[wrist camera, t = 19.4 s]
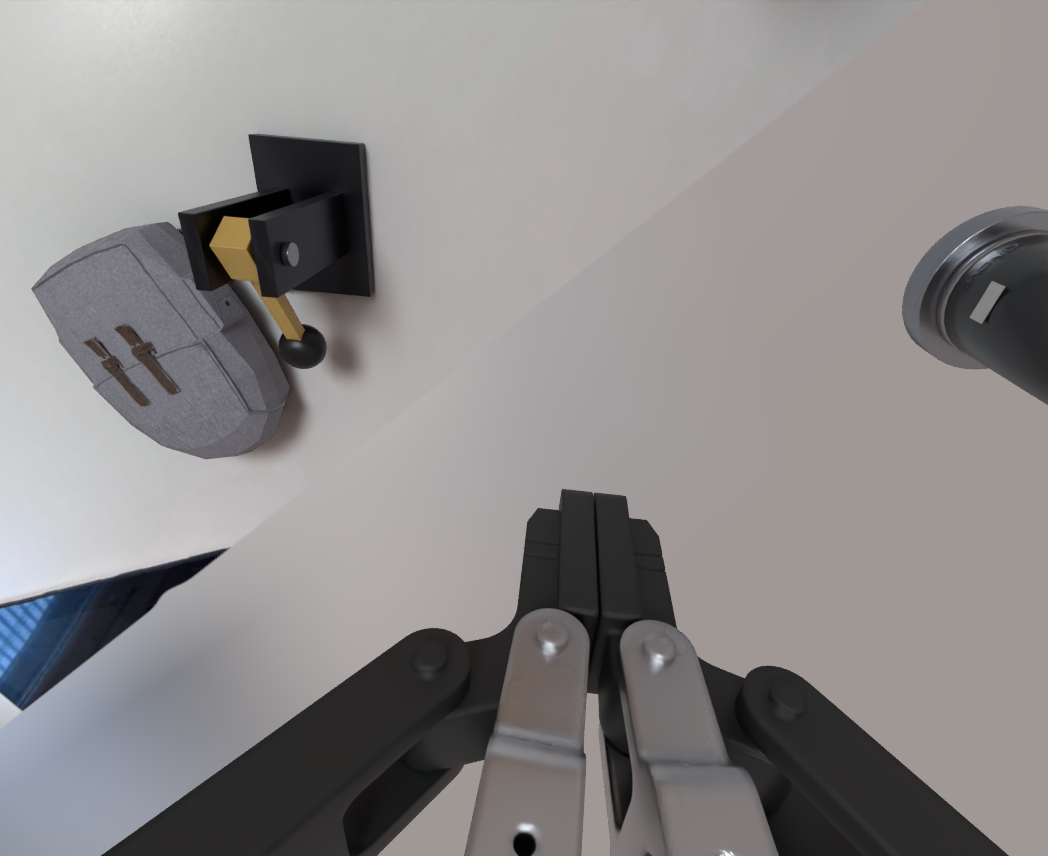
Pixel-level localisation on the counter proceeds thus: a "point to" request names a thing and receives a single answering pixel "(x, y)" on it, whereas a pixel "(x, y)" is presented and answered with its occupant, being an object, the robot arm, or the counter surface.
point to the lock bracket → (294, 220)
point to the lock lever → (237, 257)
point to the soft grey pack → (165, 343)
